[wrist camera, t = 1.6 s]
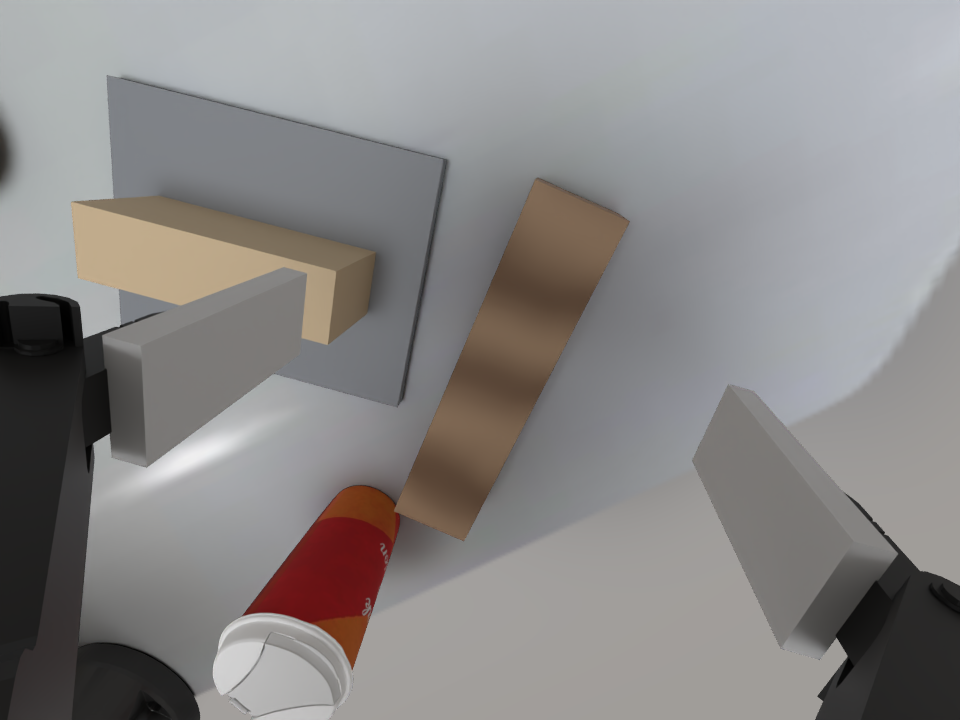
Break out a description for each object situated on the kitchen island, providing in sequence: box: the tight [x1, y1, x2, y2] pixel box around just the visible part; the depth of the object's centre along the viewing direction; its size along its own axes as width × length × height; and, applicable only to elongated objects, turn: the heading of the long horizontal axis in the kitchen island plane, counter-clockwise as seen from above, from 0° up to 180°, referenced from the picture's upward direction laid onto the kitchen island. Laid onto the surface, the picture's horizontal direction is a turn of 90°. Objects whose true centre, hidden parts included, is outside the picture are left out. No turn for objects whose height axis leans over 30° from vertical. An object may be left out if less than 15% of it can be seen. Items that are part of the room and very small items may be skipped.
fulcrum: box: [71, 75, 447, 407], centre depth 29 cm, size 16×20×7 cm
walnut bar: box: [394, 178, 630, 541], centre depth 30 cm, size 22×5×5 cm, turn 158°
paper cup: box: [213, 486, 400, 720], centre depth 32 cm, size 8×8×14 cm
